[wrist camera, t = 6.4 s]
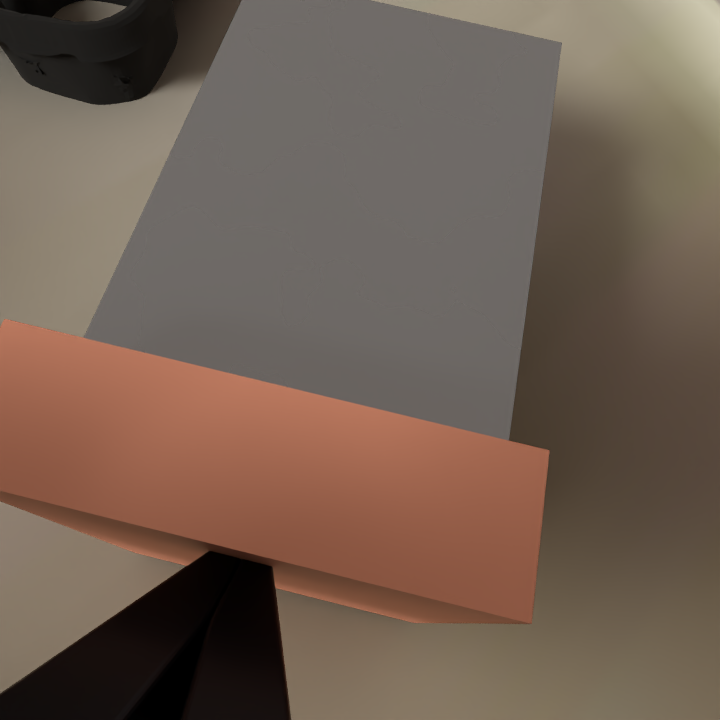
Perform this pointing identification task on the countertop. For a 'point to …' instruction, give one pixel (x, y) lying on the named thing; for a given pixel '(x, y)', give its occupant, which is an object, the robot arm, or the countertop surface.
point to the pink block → (270, 480)
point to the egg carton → (89, 48)
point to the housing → (350, 211)
